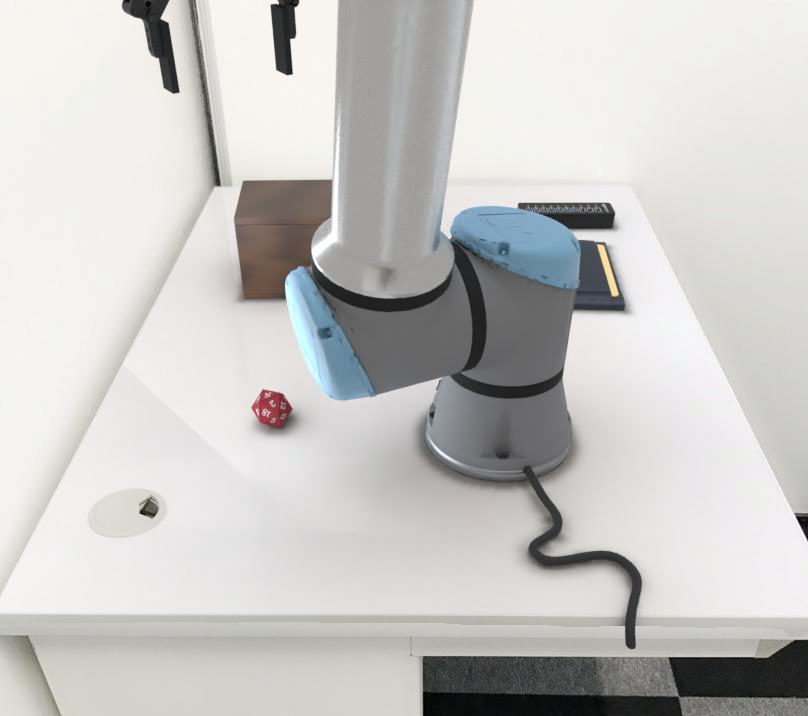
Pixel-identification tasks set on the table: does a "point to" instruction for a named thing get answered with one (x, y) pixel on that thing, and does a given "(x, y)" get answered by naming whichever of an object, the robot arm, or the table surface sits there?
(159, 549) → the table surface
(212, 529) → the table surface
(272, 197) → the brown wooden box
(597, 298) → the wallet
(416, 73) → the robot arm
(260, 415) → the dice
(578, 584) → the table surface
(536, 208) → the multiport hub
